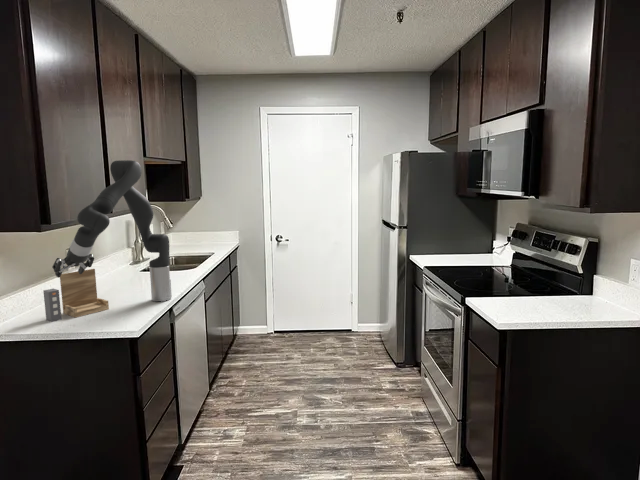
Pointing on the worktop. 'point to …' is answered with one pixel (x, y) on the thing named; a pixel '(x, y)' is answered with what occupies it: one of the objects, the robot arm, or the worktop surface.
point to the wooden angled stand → (81, 294)
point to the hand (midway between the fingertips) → (68, 274)
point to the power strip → (52, 304)
